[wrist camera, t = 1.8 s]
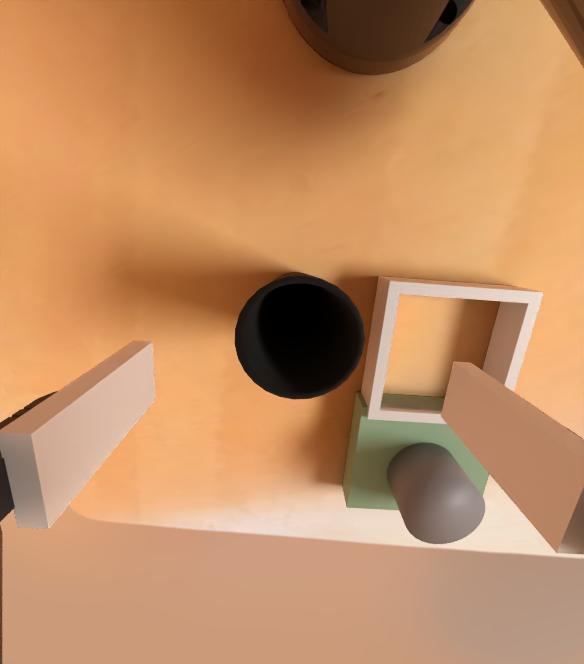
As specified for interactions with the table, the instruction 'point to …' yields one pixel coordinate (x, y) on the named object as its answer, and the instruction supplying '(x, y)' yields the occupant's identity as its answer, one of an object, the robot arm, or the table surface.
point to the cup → (299, 337)
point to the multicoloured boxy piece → (427, 419)
